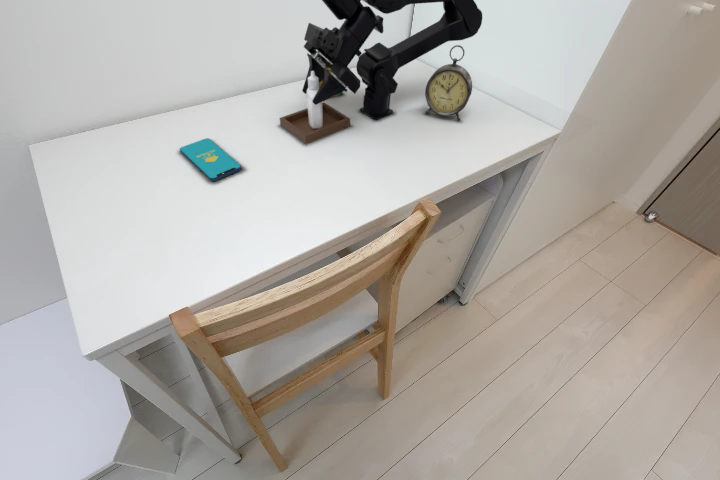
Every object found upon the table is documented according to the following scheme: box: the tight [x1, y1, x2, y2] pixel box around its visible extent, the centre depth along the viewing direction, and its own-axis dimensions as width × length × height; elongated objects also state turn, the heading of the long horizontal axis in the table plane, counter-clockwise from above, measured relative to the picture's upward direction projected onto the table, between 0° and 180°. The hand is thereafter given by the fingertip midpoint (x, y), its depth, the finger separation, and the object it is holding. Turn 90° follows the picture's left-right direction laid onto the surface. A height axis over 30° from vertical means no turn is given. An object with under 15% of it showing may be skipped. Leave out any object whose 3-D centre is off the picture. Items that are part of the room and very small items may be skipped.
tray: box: [279, 102, 351, 145], centre depth 87 cm, size 14×11×2 cm
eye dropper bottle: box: [306, 71, 323, 129], centre depth 82 cm, size 4×6×12 cm
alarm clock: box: [424, 44, 473, 121], centre depth 87 cm, size 11×5×16 cm, turn 68°
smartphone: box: [179, 138, 242, 182], centre depth 76 cm, size 7×1×15 cm
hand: (308, 97), depth 81 cm, fingers closed on eye dropper bottle, 6 cm apart
